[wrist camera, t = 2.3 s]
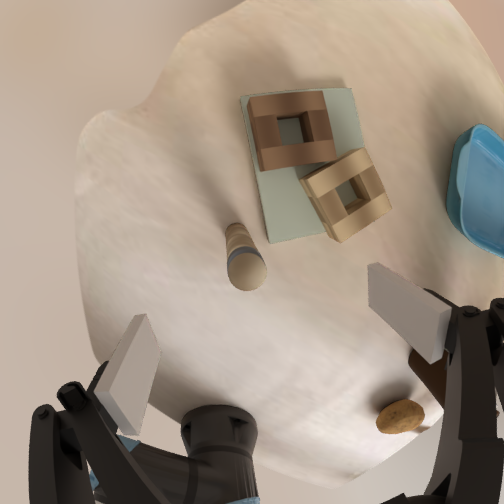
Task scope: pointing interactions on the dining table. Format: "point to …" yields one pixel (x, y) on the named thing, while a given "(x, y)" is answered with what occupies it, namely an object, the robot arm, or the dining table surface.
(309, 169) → the pale green flat mat
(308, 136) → the brown square wooden frame
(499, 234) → the casserole dish
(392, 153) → the dining table surface
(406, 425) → the potato
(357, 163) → the light wooden square frame
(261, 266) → the banded wooden cylinder
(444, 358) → the olive oil
